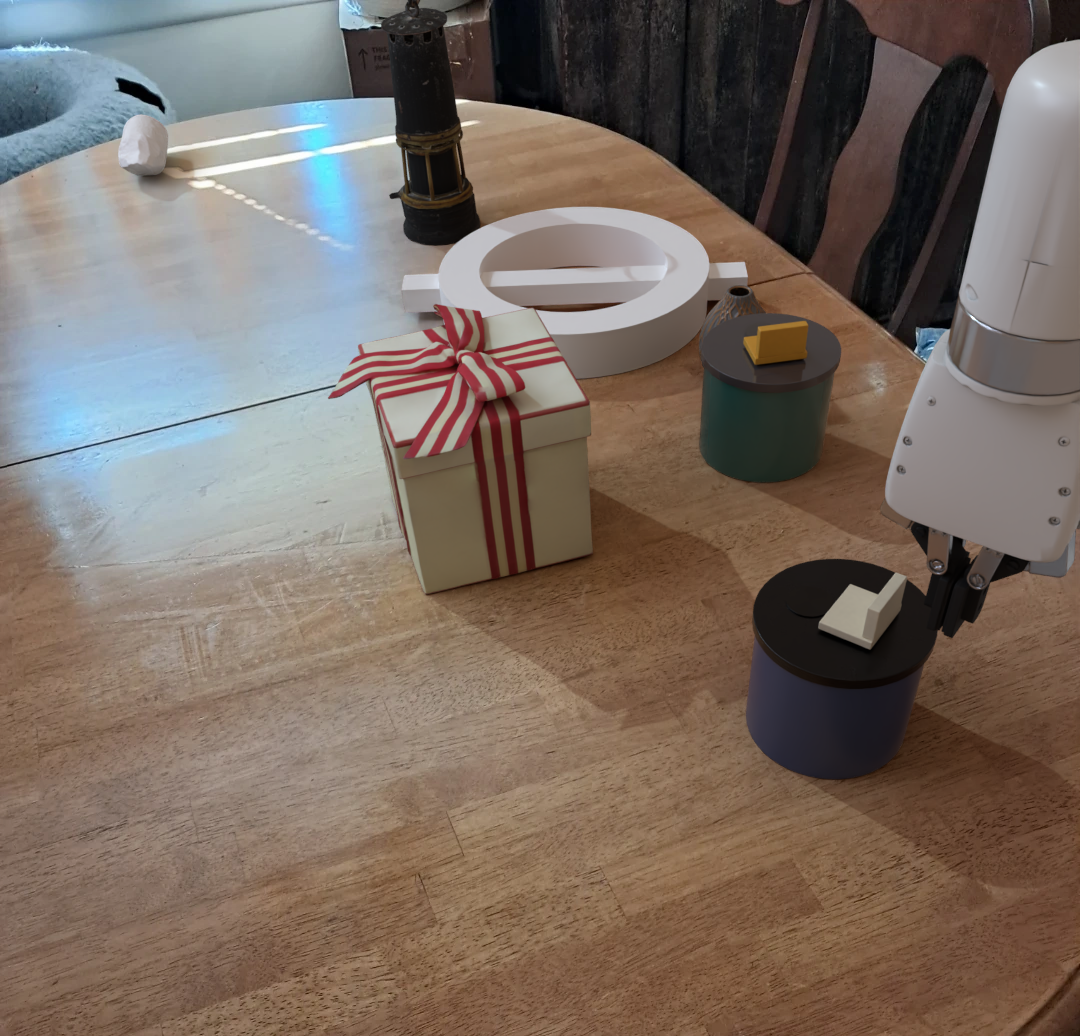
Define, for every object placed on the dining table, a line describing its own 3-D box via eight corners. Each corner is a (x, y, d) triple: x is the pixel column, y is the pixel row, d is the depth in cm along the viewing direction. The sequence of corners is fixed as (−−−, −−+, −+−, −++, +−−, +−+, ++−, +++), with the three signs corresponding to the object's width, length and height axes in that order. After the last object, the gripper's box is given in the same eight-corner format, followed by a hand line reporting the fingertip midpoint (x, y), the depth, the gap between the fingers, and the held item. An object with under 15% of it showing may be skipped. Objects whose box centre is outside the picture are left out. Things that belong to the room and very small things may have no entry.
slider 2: (900, 610, 74) (909, 574, 71) (870, 650, 71) (878, 614, 69) (848, 590, 75) (855, 554, 73) (817, 628, 73) (823, 593, 71)
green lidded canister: (843, 475, 100) (861, 373, 93) (714, 492, 100) (721, 391, 92) (803, 403, 108) (816, 304, 101) (682, 419, 107) (686, 321, 100)
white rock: (123, 194, 149) (109, 149, 145) (129, 158, 157) (116, 115, 153) (170, 189, 150) (157, 144, 146) (173, 153, 158) (161, 109, 154)
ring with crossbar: (390, 315, 124) (383, 272, 120) (574, 226, 136) (573, 185, 133) (574, 411, 109) (572, 366, 106) (761, 301, 122) (765, 258, 118)
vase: (688, 363, 114) (692, 278, 108) (756, 353, 115) (764, 268, 108) (708, 400, 109) (713, 314, 103) (778, 389, 110) (788, 303, 104)
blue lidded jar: (936, 702, 82) (967, 597, 74) (864, 809, 76) (890, 706, 68) (789, 641, 87) (805, 536, 79) (710, 736, 81) (719, 633, 73)
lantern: (388, 229, 138) (344, -65, 116) (447, 204, 142) (415, -85, 120) (435, 252, 133) (399, -50, 111) (495, 226, 137) (471, -72, 115)
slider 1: (806, 358, 95) (811, 324, 93) (754, 365, 95) (758, 331, 92) (793, 337, 97) (797, 303, 95) (742, 343, 97) (745, 310, 95)
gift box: (344, 507, 101) (304, 324, 88) (540, 454, 105) (528, 272, 92) (398, 627, 90) (361, 439, 77) (615, 564, 94) (613, 374, 81)
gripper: (1216, 345, 54) (1096, 631, 68) (916, 269, 61) (860, 544, 74) (1168, 420, 50) (1050, 708, 64) (853, 330, 57) (806, 609, 70)
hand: (948, 619), depth 69 cm, fingers closed
